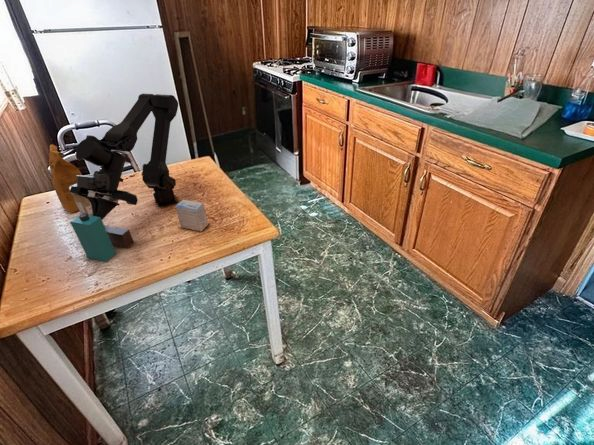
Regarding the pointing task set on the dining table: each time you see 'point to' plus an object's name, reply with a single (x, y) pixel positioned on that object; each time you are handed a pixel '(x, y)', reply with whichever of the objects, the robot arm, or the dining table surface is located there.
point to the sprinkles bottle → (83, 204)
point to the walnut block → (119, 236)
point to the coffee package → (63, 178)
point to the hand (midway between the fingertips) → (96, 223)
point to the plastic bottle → (93, 237)
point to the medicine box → (192, 215)
